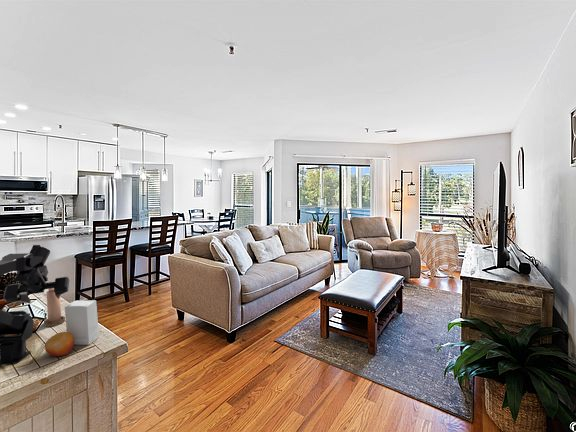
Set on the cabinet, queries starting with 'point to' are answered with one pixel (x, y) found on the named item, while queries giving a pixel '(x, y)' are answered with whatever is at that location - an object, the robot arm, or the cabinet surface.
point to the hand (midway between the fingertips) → (44, 299)
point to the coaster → (54, 322)
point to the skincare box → (82, 321)
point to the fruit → (60, 344)
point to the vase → (53, 306)
